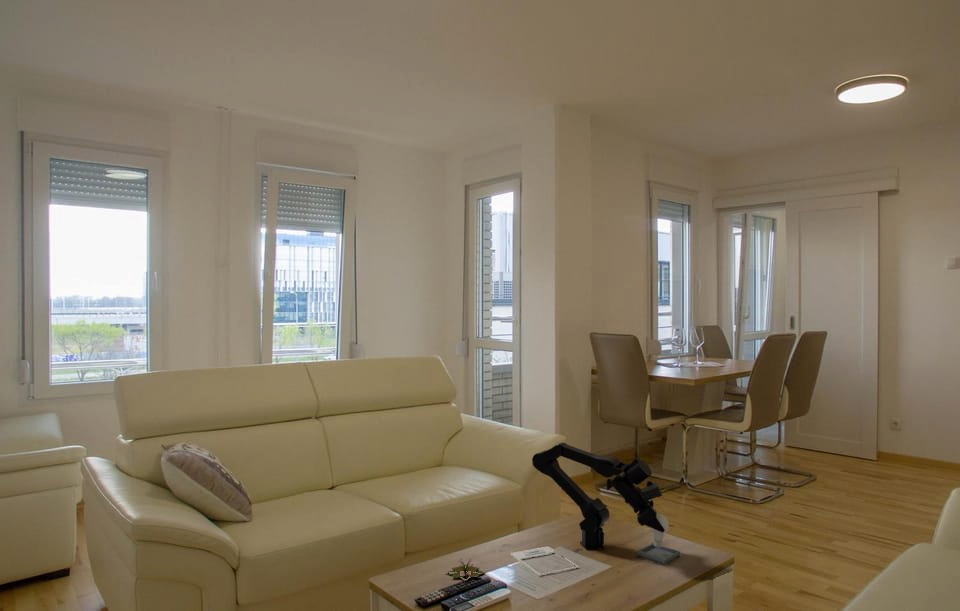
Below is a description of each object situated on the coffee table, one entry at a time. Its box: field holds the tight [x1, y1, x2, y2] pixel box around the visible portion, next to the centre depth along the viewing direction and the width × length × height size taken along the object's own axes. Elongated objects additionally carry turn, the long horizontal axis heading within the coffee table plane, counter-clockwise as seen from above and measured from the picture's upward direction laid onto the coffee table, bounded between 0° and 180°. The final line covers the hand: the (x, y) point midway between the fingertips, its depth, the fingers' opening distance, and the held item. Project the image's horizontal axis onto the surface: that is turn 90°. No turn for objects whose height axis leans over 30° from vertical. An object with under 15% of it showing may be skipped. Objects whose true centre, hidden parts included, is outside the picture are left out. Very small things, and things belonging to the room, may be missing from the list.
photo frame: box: [509, 546, 580, 575], centre depth 194 cm, size 15×1×18 cm
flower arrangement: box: [447, 558, 486, 581], centre depth 184 cm, size 12×12×5 cm
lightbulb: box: [648, 513, 669, 548], centre depth 200 cm, size 6×6×11 cm
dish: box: [636, 542, 681, 567], centre depth 199 cm, size 10×10×2 cm
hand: (662, 527), depth 199 cm, fingers closed on lightbulb, 6 cm apart
